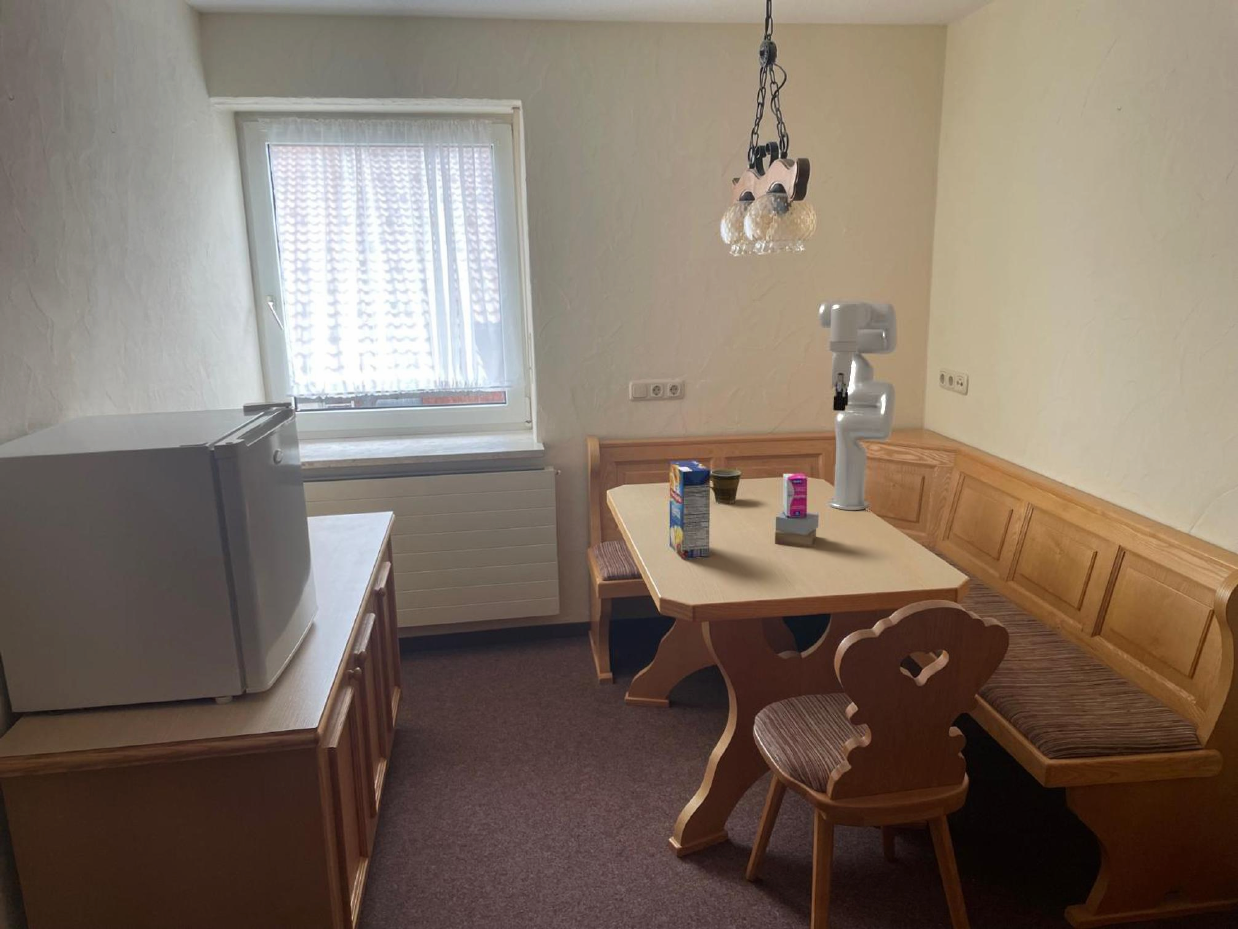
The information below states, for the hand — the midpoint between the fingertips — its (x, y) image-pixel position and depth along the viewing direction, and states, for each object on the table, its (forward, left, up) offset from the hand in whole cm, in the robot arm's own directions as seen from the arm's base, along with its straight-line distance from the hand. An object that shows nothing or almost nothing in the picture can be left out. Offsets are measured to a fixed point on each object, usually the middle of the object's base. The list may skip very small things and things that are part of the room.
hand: (840, 407), depth 228 cm
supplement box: (+14, -10, -29) cm, 34 cm away
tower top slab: (+14, -9, -33) cm, 37 cm away
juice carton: (+32, -36, -36) cm, 60 cm away
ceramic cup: (-21, -39, -36) cm, 57 cm away
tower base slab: (+14, -10, -37) cm, 40 cm away
